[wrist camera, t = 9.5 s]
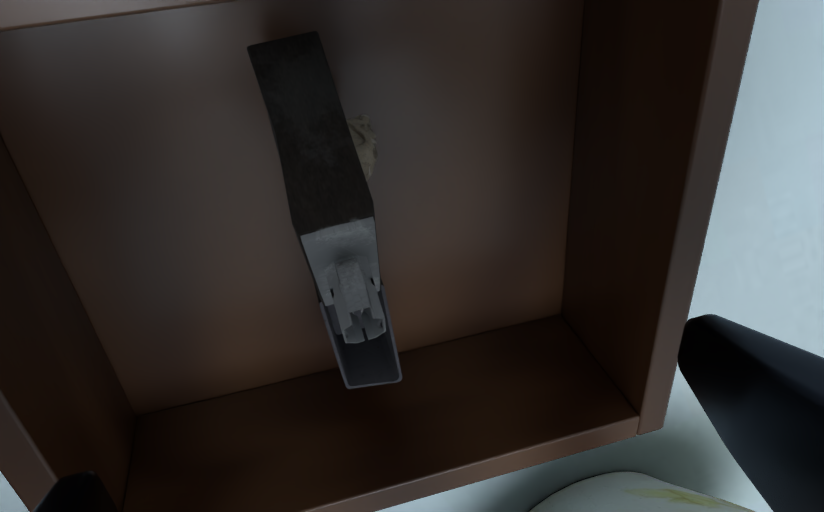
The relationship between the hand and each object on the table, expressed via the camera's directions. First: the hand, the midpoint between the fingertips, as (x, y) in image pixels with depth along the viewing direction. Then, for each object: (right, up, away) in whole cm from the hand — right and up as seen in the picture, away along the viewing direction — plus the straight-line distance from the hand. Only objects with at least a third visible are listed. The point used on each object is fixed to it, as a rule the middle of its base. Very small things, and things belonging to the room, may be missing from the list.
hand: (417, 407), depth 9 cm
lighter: (-2, +4, +6) cm, 8 cm away
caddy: (-2, +4, +7) cm, 8 cm away
